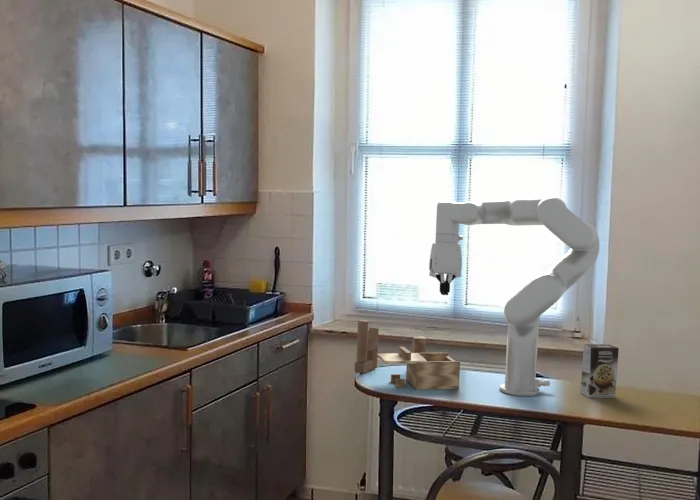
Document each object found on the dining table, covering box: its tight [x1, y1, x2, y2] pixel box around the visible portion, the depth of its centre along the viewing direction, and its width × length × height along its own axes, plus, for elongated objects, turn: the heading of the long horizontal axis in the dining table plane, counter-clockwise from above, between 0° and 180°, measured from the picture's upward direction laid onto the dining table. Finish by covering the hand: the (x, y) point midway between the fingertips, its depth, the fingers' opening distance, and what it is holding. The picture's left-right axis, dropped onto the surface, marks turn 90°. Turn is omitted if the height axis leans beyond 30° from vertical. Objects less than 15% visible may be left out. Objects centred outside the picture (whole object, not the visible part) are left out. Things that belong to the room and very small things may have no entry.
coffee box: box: [580, 343, 620, 399], centre depth 242 cm, size 9×6×16 cm
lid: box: [377, 346, 427, 365], centre depth 247 cm, size 14×11×3 cm
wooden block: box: [354, 319, 380, 374], centre depth 265 cm, size 4×11×18 cm, turn 152°
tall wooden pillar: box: [410, 335, 427, 353], centre depth 266 cm, size 4×4×12 cm
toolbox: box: [390, 352, 461, 390], centre depth 249 cm, size 20×13×9 cm, turn 101°
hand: (444, 294), depth 252 cm, fingers closed
